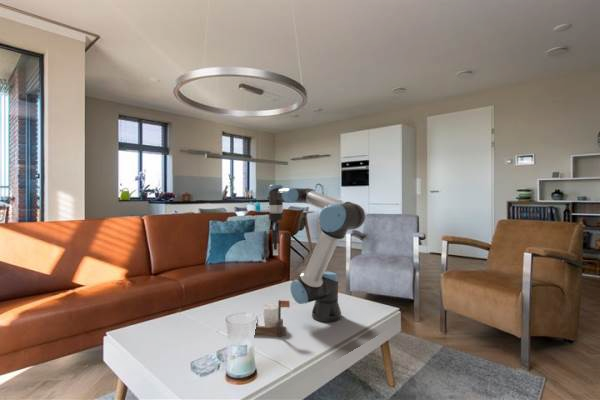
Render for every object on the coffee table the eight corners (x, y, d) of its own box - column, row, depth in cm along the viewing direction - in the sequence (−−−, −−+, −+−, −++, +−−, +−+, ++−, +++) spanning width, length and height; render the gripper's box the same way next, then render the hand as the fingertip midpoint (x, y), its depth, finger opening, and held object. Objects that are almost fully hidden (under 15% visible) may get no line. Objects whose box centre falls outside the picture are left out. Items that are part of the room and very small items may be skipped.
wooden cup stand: (250, 324, 155) (250, 291, 155) (291, 326, 154) (291, 293, 154) (244, 335, 144) (244, 299, 143) (289, 337, 142) (289, 301, 142)
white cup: (277, 323, 157) (277, 302, 157) (282, 329, 150) (282, 308, 150) (261, 325, 155) (261, 304, 155) (265, 331, 147) (265, 310, 147)
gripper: (270, 211, 184) (270, 252, 185) (267, 213, 171) (266, 257, 172) (283, 212, 184) (283, 253, 184) (280, 213, 171) (280, 257, 171)
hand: (275, 255), depth 178 cm, fingers closed
